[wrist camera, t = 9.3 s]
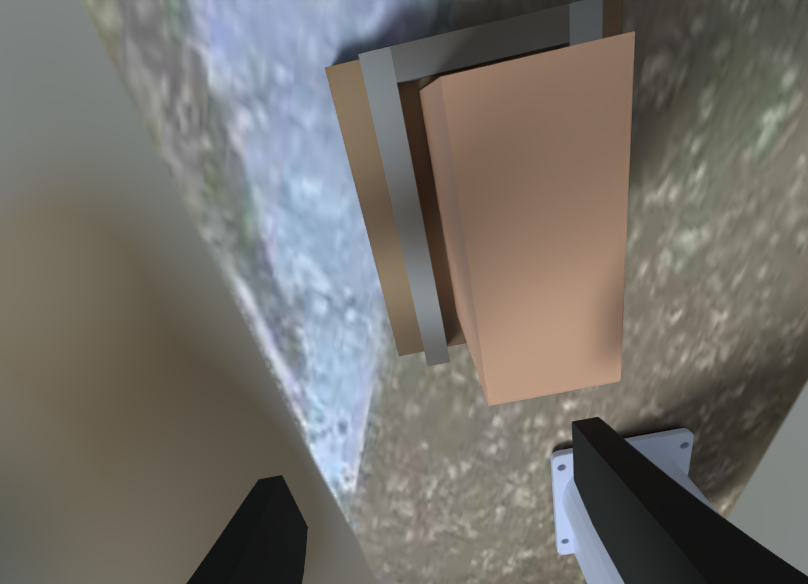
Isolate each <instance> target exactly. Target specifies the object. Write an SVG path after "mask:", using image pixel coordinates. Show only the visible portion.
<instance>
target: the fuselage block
mask: <svg viewBox="0 0 808 584" xmlns="http://www.w3.org/2000/svg"><path fill="white" fill-rule="evenodd" d="M634 46H635V31H633V32H629V33H625V34H621V35H616V36H612V37H608V38H604V39H599V40H595V41H591V42H587V43H582V44H578V45H574V46H570V47H565V48H561V49H557V50H553V51H548V52H544V53H540V54H536V55H531V56H527V57H523V58H519V59H514V60H510V61H506V62H502V63H497V64H493V65H489V66H485V67H480V68H476V69H472V70H468V71H463V72H459V73H455V74H451V75H446V76H442V77H440V78H438V79H437V80H435V81H434V82H432V83H431V84H429V85H428V86H426V87H425V88H423V89H422V90H420V91H419V95H420V101H421V107H422V113H423V119H424V125H425V130H426V136H427V142H428V148H429V154H430V160H431V165H432V171H433V177H434V183H435V189H436V195H437V201H438V206H439V212H440V218H441V224H442V230H443V236H444V241H445V247H446V253H447V259H448V265H449V271H450V277H451V282H452V288H453V294H454V300H455V306H456V312H457V315H458V318H459V321H460V324H461V327H462V330H463V333H464V336H465V338H466V341H467V344H468V347H469V350H470V353H471V356H472V359H473V361H474V364H475V367H476V370H477V373H478V376H479V379H480V382H481V384H482V387H483V390H484V393H485V396H486V399H487V402H488V405H489V406H492V405H497V404H502V403H507V402H513V401H518V400H523V399H529V398H534V397H539V396H544V395H550V394H555V393H560V392H566V391H571V390H576V389H581V388H587V387H592V386H597V385H603V384H608V383H613V382H619V381H621V358H622V334H623V310H624V286H625V262H626V238H627V214H628V190H629V166H630V142H631V118H632V94H633V70H634Z"/></svg>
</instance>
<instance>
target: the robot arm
mask: <svg viewBox="0 0 808 584" xmlns="http://www.w3.org/2000/svg"><path fill="white" fill-rule="evenodd" d="M572 439H573V448H569V449H564V450H558V451H555V452H554V453H553V454H552V455H551V473H552V490H553V506H554V522H555V538H556V548H557V550H558V553H560V554H563V555H566V554H572V553H575V556H576V558H577V561H578V563H579V565H580V568H581V570H582V572H583V575H584V577H585V579H586V582H587V584H808V576H807V575H805V574H804V573H802V572H801V571H799V570H798V569H796V568H794V567H793V566H791V565H790V564H788V563H787V562H785V561H784V560H783V559H781V558H780V557H778V556H776V555H775V554H774V553H772V552H771V551H769V550H768V549H767V548H765V547H764V546H762V545H761V544H759V543H758V542H757V541H755V540H754V539H752V538H751V537H749V536H748V535H747V534H745V533H744V532H743V531H741V530H740V529H738V528H737V527H736V526H734V525H733V524H731V523H730V522H728V521H727V520H726V519H725V518H723V517H722V516H720V515H719V513H718V512H717V511H716V510H715V509H714V507H713V506H712V505H711V504H710V503H709V501H708V500H707V499H706V498H705V497H704V495H703V494H702V493H701V492H700V490H699V489H698V488H697V487H696V486H695V484H694V483H693V482H692V481H691V480H690V478H689V477H688V472H689V465H690V459H691V453H692V446H693V440H694V435H693V433H692V432H691V431H690V430H689V429H687V428H680V429H674V430H669V431H663V432H658V433H652V434H647V435H641V436H636V437H630V438H625V439H624V438H623V437H621V436H620V435H619V434H618V433H617V432H616V431H615V430H613V429H612V428H611V427H610V426H609V425H608V424H606V423H605V422H604V421H603V420H602V419H600V418H599V417H594V418H589V419H584V420H578V421H573V422H572ZM307 530H308V526H307V525H306V523H305V521H304V518H303V516H302V514H301V512H300V510H299V509H298V506H297V504H296V502H295V500H294V498H293V496H292V495H291V492H290V490H289V488H288V486H287V484H286V483H285V480H284V478H283V476H282V475H280V476H275V477H270V478H265V479H259V480H258V481H257V483H256V484H255V486H254V487H253V488H252V490H251V491H250V493H249V494H248V496H247V497H246V498H245V500H244V501H243V503H242V504H241V506H240V507H239V509H238V510H237V512H236V513H235V515H234V516H233V518H232V519H231V521H230V522H229V524H228V525H227V526H226V528H225V529H224V531H223V532H222V534H221V535H220V537H219V538H218V540H217V541H216V542H215V544H214V545H213V547H212V548H211V550H210V551H209V553H208V554H207V555H206V557H205V558H204V560H203V561H202V562H201V564H200V566H199V567H198V568H197V570H196V571H195V573H194V574H193V575H192V577H191V578H190V579H189V581H188V582H187V584H302V579H303V574H304V564H305V555H306V543H307Z"/></svg>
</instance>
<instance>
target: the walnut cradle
mask: <svg viewBox="0 0 808 584" xmlns="http://www.w3.org/2000/svg"><path fill="white" fill-rule="evenodd" d="M622 1H623V0H605V1H603V0H581V1H577V2H573V3H568V4H564V5H560V6H556V7H552V8H548V9H543V10H539V11H535V12H531V13H527V14H523V15H518V16H514V17H510V18H506V19H502V20H498V21H494V22H489V23H485V24H481V25H477V26H473V27H469V28H464V29H460V30H456V31H452V32H448V33H444V34H440V35H435V36H431V37H427V38H423V39H419V40H415V41H410V42H406V43H402V44H398V45H394V46H390V47H385V48H381V49H377V50H373V51H369V52H365V53H361V54H358V55H359V60H354V61H350V62H346V63H342V64H338V65H334V66H329V67H325V71H326V74H327V78H328V82H329V86H330V90H331V94H332V98H333V102H334V105H335V109H336V113H337V117H338V121H339V125H340V129H341V133H342V136H343V140H344V144H345V148H346V152H347V156H348V160H349V164H350V167H351V171H352V175H353V179H354V183H355V187H356V191H357V195H358V198H359V202H360V206H361V210H362V214H363V218H364V222H365V226H366V229H367V233H368V237H369V241H370V245H371V249H372V253H373V257H374V260H375V264H376V268H377V272H378V276H379V280H380V284H381V288H382V291H383V295H384V299H385V303H386V307H387V311H388V315H389V319H390V322H391V326H392V330H393V334H394V338H395V342H396V346H397V350H398V353H399V356H403V355H408V354H413V353H418V352H423V351H424V352H425V356H426V361H427V365H428V366H432V365H437V364H442V363H448V362H450V359H449V353H448V348H447V347H448V346H453V345H458V344H463V343H467V341H466V338H465V336H464V333H463V330H462V327H461V324H460V321H459V318H458V315H457V312H456V306H455V300H454V294H453V288H452V282H451V277H450V271H449V265H448V259H447V253H446V247H445V241H444V236H443V230H442V224H441V218H440V212H439V206H438V201H437V195H436V189H435V183H434V177H433V171H432V165H431V160H430V154H429V148H428V142H427V136H426V130H425V125H424V119H423V113H422V107H421V101H420V95H419V91H420V90H422V89H423V88H425V87H426V86H428V85H429V84H431V83H432V82H434V81H435V80H437V79H438V78H440V77H442V76H446V75H451V74H455V73H459V72H463V71H468V70H472V69H476V68H480V67H485V66H489V65H493V64H497V63H502V62H506V61H510V60H514V59H519V58H523V57H527V56H531V55H536V54H540V53H544V52H548V51H553V50H557V49H561V48H565V47H570V46H574V45H578V44H582V43H587V42H591V41H595V40H599V39H604V38H608V37H612V36H616V35H621V34H622Z"/></svg>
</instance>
